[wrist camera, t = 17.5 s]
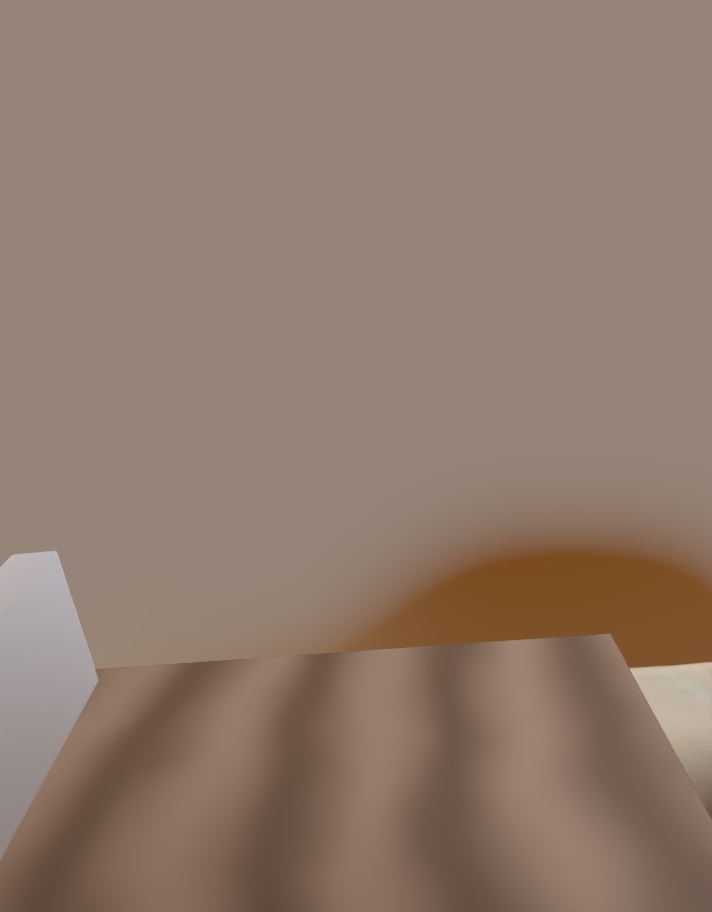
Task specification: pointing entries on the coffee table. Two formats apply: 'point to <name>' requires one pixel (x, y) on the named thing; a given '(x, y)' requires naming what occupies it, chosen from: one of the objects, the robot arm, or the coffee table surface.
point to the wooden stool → (368, 789)
